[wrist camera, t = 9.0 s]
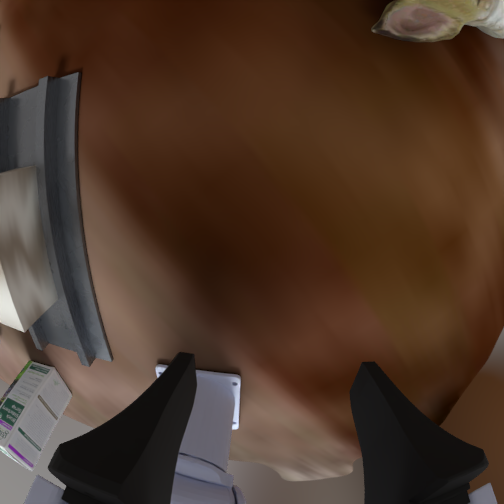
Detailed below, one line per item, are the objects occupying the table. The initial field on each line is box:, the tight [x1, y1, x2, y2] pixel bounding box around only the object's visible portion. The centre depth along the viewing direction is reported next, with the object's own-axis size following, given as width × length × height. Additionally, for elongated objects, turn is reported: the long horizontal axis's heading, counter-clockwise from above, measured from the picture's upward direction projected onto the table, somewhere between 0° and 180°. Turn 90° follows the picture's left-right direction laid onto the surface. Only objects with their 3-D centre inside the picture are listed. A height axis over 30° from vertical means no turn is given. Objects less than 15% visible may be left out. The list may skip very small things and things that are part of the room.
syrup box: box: [0, 361, 72, 471], centre depth 21 cm, size 6×6×14 cm
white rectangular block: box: [0, 165, 58, 332], centre depth 16 cm, size 12×4×6 cm, turn 177°
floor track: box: [0, 72, 113, 367], centre depth 19 cm, size 26×12×2 cm, turn 177°
